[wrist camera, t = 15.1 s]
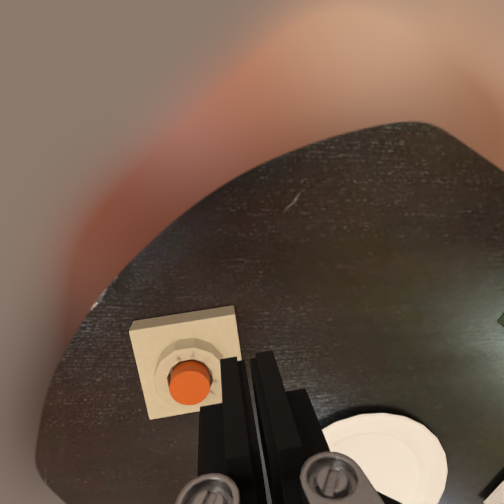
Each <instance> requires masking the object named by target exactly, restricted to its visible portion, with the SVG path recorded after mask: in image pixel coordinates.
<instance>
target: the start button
mask: <svg viewBox="0 0 504 504" xmlns="http://www.w3.org/2000/svg"><path fill="white" fill-rule="evenodd" d="M209 390H210V374H209V371H208V369H207V368H206V367H205V366H204V365H203V364H202V363H200V362H197V361H185V362H182V363H180V364H179V365H177V366H176V367H175V368H174V370H173V371H172V374H171V380H170V386H169V391H170V394H171V396H172V398H173V399H174V400H175V401H176V402H178V403H180V404H183V405H195V404H198V403H200V402H202V401H203V400H204V399H205V398H206V397H207V395H208V393H209Z"/></svg>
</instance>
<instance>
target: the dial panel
mask: <svg viewBox="0 0 504 504" xmlns="http://www.w3.org/2000/svg"><path fill="white" fill-rule="evenodd" d="M498 322H499V323H500V324H502V325H503V326H504V314H503V315H502V316H501V318H500V319H499V320H498Z"/></svg>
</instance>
